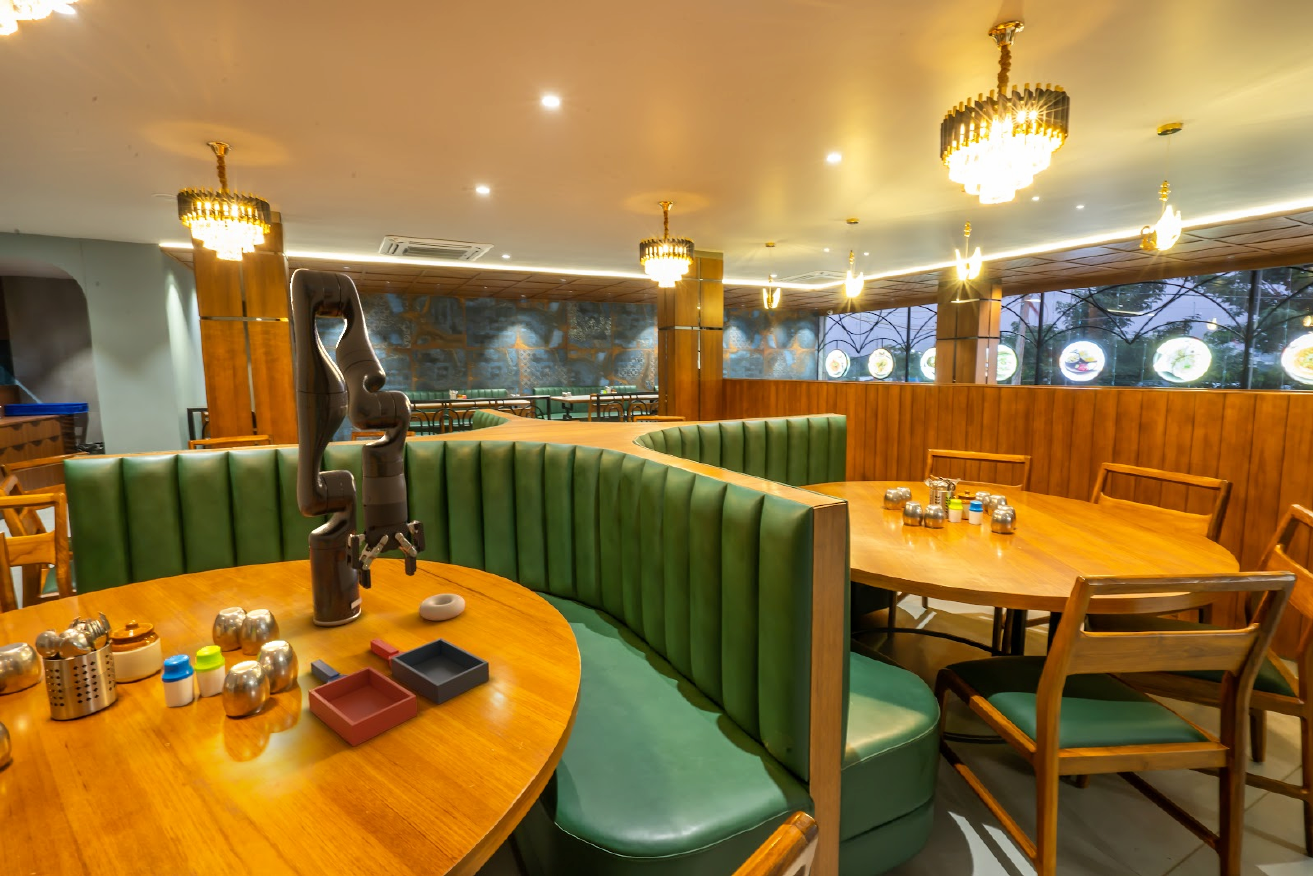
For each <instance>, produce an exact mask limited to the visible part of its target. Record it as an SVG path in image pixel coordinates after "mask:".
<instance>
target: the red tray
mask: <svg viewBox="0 0 1313 876" xmlns="http://www.w3.org/2000/svg"><path fill="white" fill-rule="evenodd" d="M346 675H347V676H344V677H342V678H339V679H337V680H334V681H332V682H329V683H327V684H326V683H324V684H322V685H319V686H316V687H314V688H312V689H309V690H308V691H307V692H308V705H309V708H308V709H309V711H310V712H311V713H312V714H313V715H315V716H316V717H317V718H319V719H320V720H321V721H322V722H323V723H324V724H326V726H328V727H329V728H330V729H331V730H333V732H334V733H336V734H337V735H339V736H340V737H341V738H342V739H343V740H345V742H347V743H348V744H349V745H351V747H353V748H355V747H356V746H359V745H360V744H362V743H364V742H367V741H368V740H370V739H373V738H374V737H376V736H379V735H380V734H382V733H385V732H387V731H389V730H390V729H392V728H394V727H397V726H398V725H401V724H404V723H405V722H407V721H409V720H411V719H413V718H415V717H417V716H418V706H417V705H418V704H417V696H416V695H415V694H414V693H412V692H411V691H409V690H407V689H406V688H404V687H403V686H402V685H400V684H398V683H396V682H395V681H393V680H392V679H390V678H389V677H387V676H385V675H384V674H382V673H381V672H379V671H378V670H376V669H375V668H373V667H372V666H368V667H364V668H362V669H360V670H357V671H355V672H352V673H349V674H346Z"/></svg>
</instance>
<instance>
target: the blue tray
mask: <svg viewBox="0 0 1313 876" xmlns="http://www.w3.org/2000/svg"><path fill="white" fill-rule="evenodd" d="M404 652H405V653H402V654H400V655H397V656H395V657H392V658H391V668H390V669H391V671H390V672H391V676H392V677H393V678H395V679H397V680H398V681H400V682H401V683H403V684H404V685H406V686H407V687H409V688H410V689H412V690H414V691H415V692H417V693H419V694H420V695H422V696H423V697H424V698H427V699H428V700H429V701H432V702H433V703H435V704H436V705H438V706H439V705H442V704H443V703H445V702H447V701H450V700H452V699H453V698H456V697H458V696H459V695H462V694H463V693H466V692H467V691H470V690H471V689H473V688H476V687H478V686H480V685H482V684H484V683H486V682H488V681H490V663H489V662H488V661H487V660H485V659H483V658H482V657H479V656H477V655H475V654H473V653H471V652H469V651H467V650H465V649H463V648H461V647H459V646H457V645H456V644H453V643H451V642H450V641H447V640H446V639H443V638H442V637H440V638H438V639H435V640H432V641H430V642H428V643H425V644H423V645H421V646H416V647H415V648H413V649H410V650H408V651H407V650H406V651H404Z"/></svg>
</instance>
